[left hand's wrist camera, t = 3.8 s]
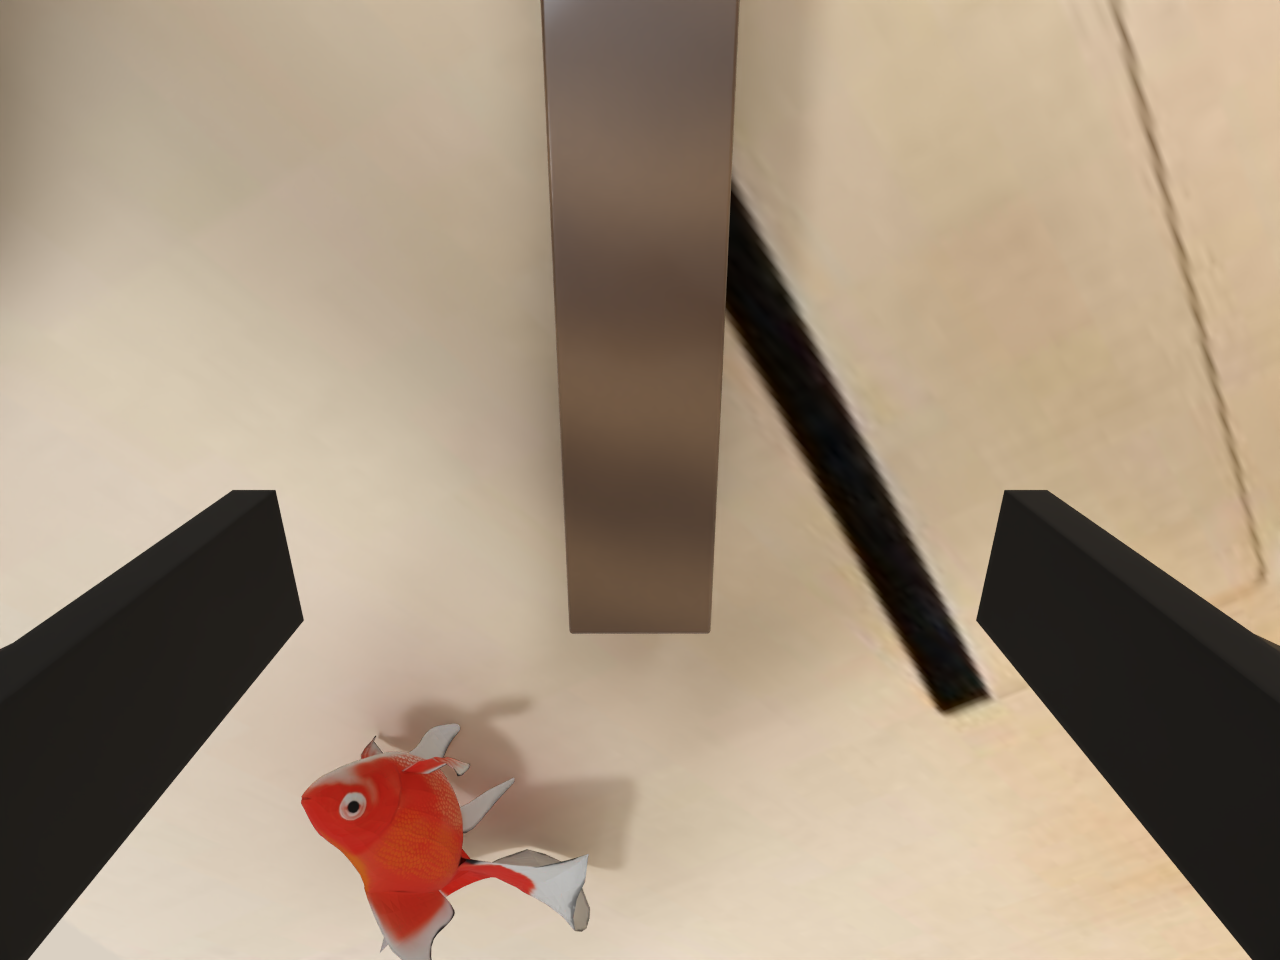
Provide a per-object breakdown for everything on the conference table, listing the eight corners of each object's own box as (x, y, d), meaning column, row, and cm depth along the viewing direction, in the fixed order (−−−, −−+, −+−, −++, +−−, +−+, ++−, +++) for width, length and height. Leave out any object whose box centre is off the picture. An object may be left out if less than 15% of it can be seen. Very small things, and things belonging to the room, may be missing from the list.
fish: (505, 673, 26) (421, 991, 21) (658, 784, 37) (632, 1012, 32) (309, 680, 31) (193, 944, 25) (498, 778, 42) (448, 977, 36)
